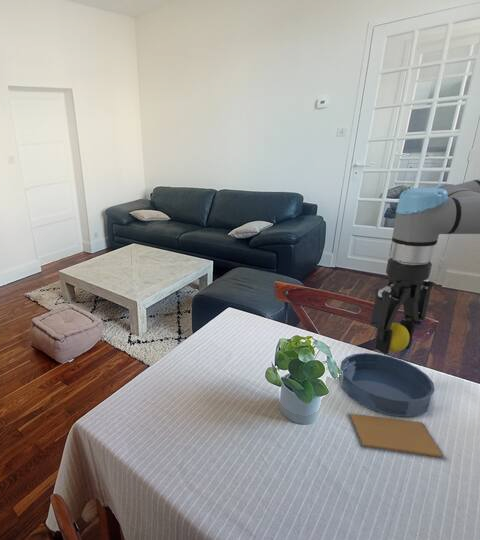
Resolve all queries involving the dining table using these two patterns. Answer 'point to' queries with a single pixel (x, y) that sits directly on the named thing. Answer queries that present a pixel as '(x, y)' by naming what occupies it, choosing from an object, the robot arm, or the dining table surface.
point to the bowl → (386, 384)
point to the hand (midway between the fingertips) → (392, 348)
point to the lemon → (398, 337)
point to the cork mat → (395, 435)
